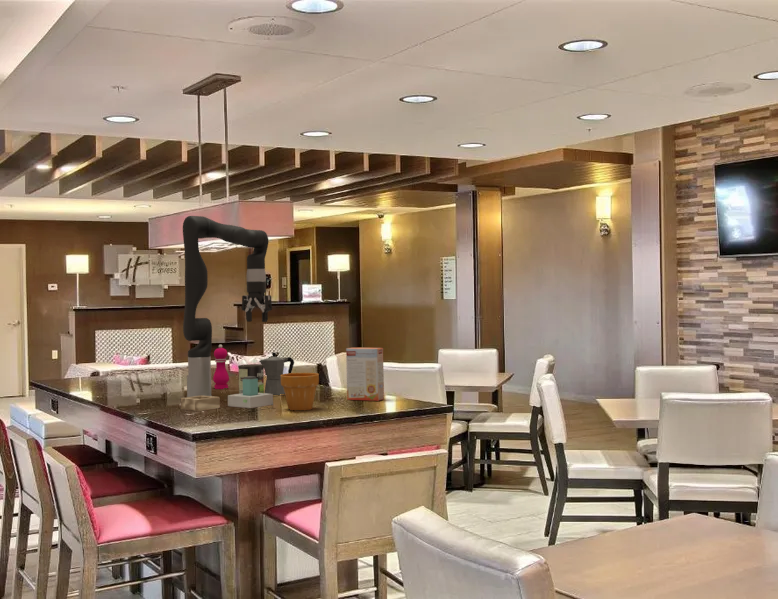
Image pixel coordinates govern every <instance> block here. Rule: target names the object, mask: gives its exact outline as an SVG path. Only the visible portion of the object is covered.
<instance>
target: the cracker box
mask: <svg viewBox="0 0 778 599" xmlns="http://www.w3.org/2000/svg"><path fill="white" fill-rule="evenodd" d="M345 351H346V354H345V355H346V358H345V359H346V360H345V361H346V362H345V363H346V399H347V401H367V402H368V401H370V402H378V401H379V402H380V401H383V400H384V399H385V386H384V384H385V381H384V378H385V377H384V375H385V373H384V348H383V347H346V348H345Z"/></svg>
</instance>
